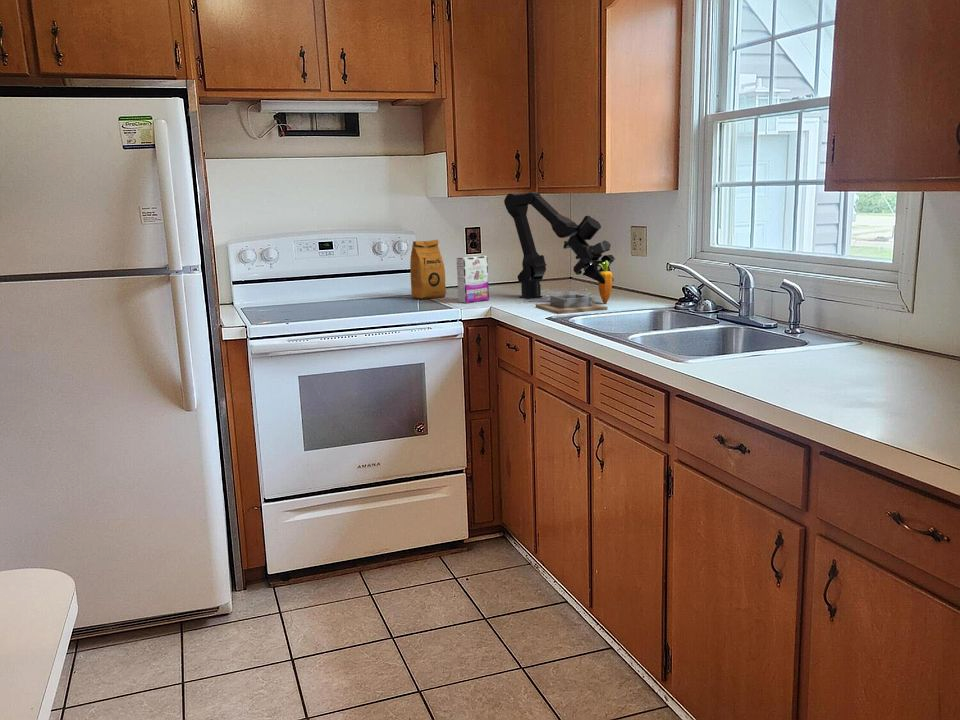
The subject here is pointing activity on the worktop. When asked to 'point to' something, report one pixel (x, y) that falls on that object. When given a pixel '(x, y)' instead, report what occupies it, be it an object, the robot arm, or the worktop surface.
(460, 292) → the candy bar box
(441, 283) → the coffee package
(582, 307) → the socket base
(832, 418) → the worktop surface
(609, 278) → the carrot
